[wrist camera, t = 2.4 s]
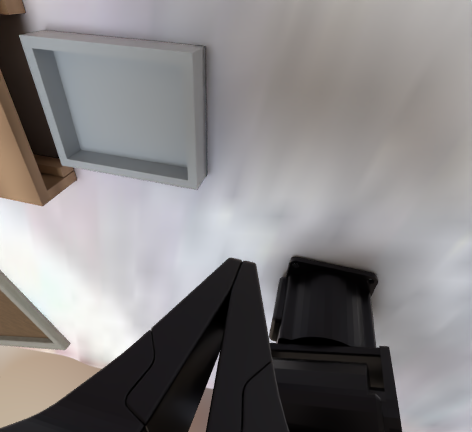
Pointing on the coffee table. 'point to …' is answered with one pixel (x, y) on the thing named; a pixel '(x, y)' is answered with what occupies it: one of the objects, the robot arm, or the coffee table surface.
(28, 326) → the grey picture frame
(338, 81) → the coffee table surface
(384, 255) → the coffee table surface
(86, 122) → the grey shallow tray
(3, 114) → the overhang
